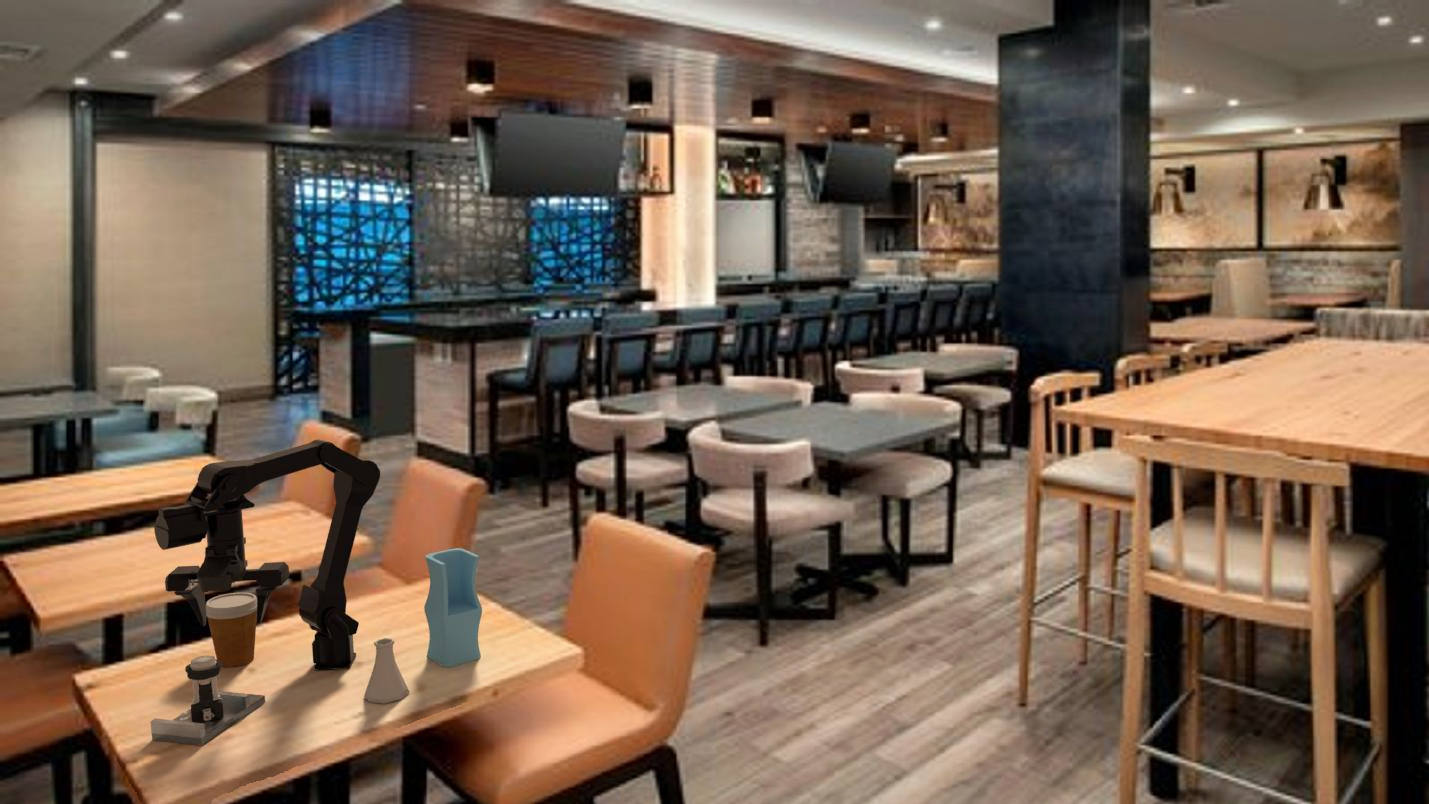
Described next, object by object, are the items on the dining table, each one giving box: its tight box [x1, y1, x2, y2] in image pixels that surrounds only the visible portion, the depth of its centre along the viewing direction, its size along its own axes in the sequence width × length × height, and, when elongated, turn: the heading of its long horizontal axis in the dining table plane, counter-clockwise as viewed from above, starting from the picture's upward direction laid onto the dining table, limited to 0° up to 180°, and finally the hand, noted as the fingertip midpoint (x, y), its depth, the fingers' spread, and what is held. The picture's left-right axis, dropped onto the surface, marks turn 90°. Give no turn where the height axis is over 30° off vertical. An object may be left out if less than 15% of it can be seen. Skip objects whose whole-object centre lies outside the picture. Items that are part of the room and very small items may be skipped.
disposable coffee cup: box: [205, 592, 257, 668], centre depth 196 cm, size 10×10×12 cm
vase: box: [423, 547, 483, 668], centre depth 197 cm, size 8×8×20 cm
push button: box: [179, 655, 224, 722], centre depth 170 cm, size 7×5×10 cm
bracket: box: [150, 690, 266, 747], centre depth 172 cm, size 16×9×3 cm, turn 168°
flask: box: [363, 637, 410, 704], centre depth 181 cm, size 7×7×10 cm
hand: (231, 624), depth 180 cm, fingers open, 9 cm apart
